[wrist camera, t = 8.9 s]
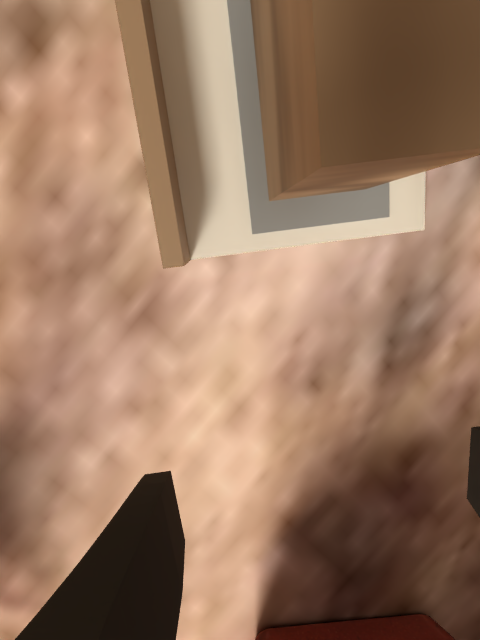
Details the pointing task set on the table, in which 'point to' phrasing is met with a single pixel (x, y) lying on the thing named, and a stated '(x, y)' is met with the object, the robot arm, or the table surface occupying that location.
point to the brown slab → (364, 90)
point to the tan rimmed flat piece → (228, 142)
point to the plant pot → (363, 630)
